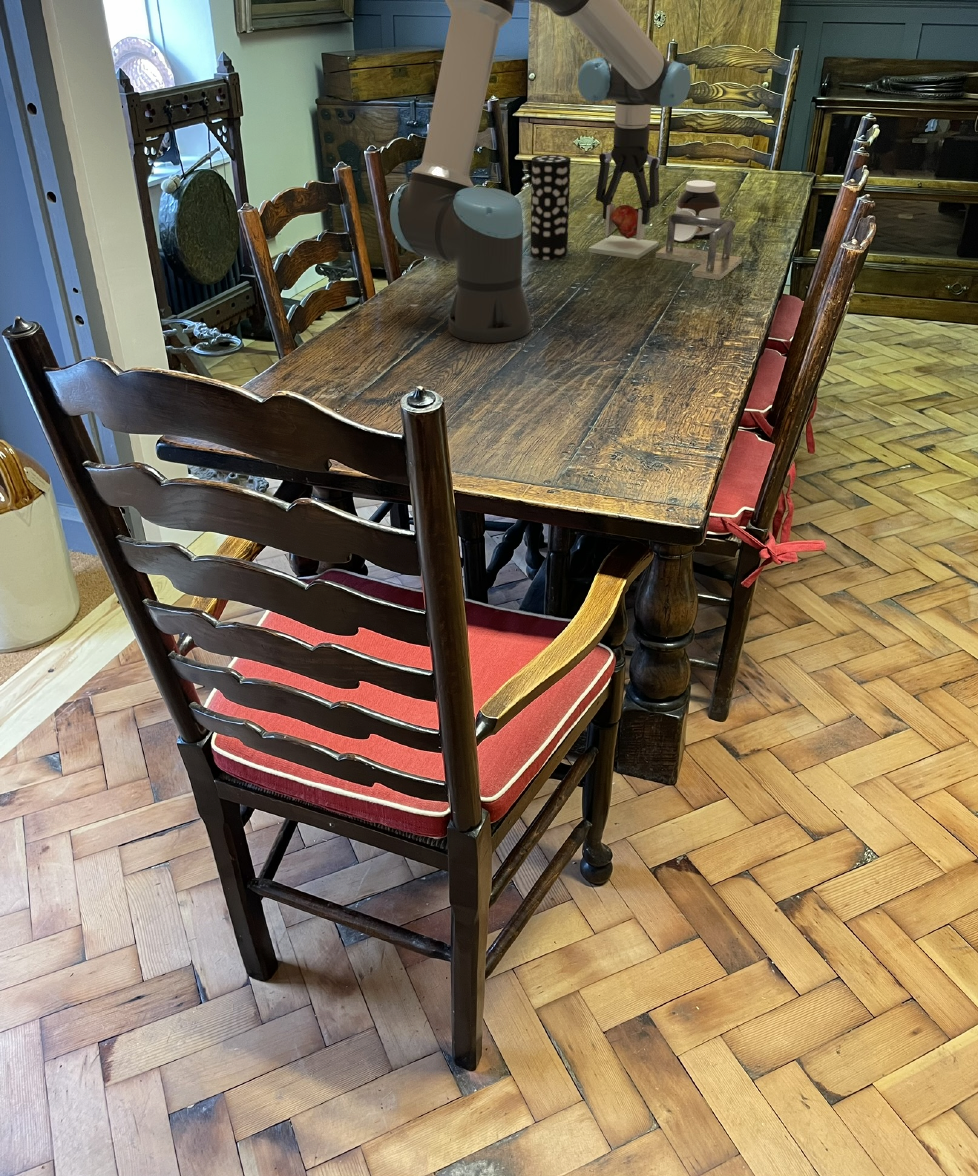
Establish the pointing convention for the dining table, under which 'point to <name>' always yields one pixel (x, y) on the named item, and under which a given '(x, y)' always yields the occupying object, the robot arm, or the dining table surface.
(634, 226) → the pomegranate
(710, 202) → the spread jar
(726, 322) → the dining table surface
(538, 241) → the white-spotted black cylinder
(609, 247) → the pad
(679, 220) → the buzz wire
